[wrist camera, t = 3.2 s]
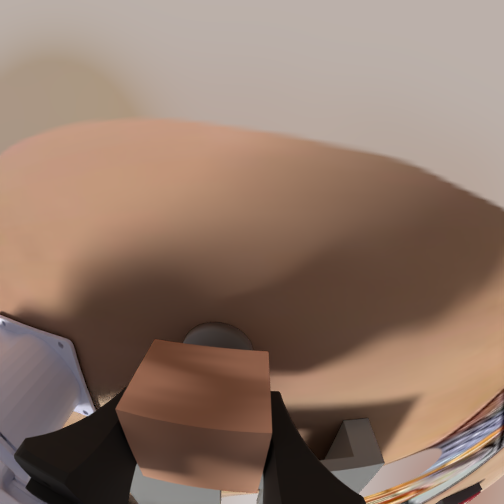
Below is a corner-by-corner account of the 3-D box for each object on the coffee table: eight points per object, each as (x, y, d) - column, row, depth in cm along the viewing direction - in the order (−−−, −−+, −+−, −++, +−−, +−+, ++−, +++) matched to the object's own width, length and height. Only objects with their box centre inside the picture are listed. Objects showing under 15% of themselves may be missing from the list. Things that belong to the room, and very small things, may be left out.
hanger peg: (177, 378, 16) (143, 476, 8) (172, 308, 14) (115, 408, 7) (258, 387, 16) (257, 492, 8) (266, 318, 14) (272, 433, 7)
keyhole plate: (153, 480, 20) (144, 511, 16) (123, 400, 17) (101, 444, 12) (322, 492, 20) (326, 524, 16) (367, 418, 17) (384, 462, 12)
